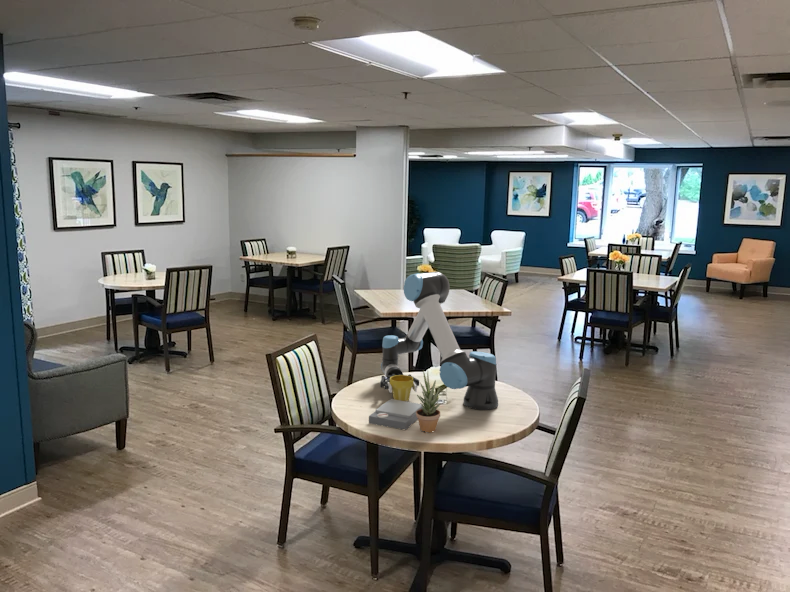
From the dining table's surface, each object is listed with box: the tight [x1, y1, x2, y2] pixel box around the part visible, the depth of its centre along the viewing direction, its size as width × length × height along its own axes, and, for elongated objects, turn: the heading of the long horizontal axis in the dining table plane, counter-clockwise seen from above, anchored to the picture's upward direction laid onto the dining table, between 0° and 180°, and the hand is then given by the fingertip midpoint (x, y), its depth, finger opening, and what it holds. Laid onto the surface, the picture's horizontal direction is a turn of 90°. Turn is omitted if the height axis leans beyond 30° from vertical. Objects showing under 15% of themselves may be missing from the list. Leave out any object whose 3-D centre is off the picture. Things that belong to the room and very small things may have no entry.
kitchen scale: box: [368, 398, 424, 431], centre depth 260 cm, size 16×20×4 cm
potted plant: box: [416, 370, 442, 433], centre depth 246 cm, size 10×10×25 cm
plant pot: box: [390, 374, 414, 402], centre depth 278 cm, size 10×10×10 cm
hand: (403, 389), depth 273 cm, fingers closed on plant pot, 10 cm apart
